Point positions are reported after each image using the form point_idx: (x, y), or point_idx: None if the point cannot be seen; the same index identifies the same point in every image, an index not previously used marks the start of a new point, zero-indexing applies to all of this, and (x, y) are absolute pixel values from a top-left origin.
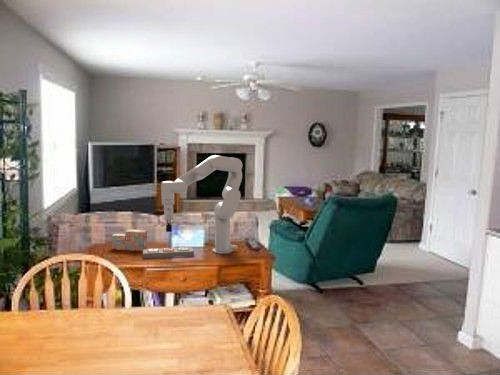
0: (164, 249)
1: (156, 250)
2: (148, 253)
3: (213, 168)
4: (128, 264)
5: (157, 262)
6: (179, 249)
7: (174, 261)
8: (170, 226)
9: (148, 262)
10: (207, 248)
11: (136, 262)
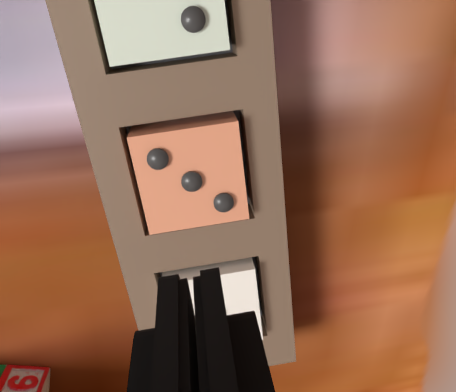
0: (203, 217)
1: (242, 283)
2: (292, 325)
3: None
4: (417, 377)
5: (417, 217)
6: (209, 42)
7: (423, 76)
8: (237, 382)
9: (400, 278)
10: None
11: (381, 347)
